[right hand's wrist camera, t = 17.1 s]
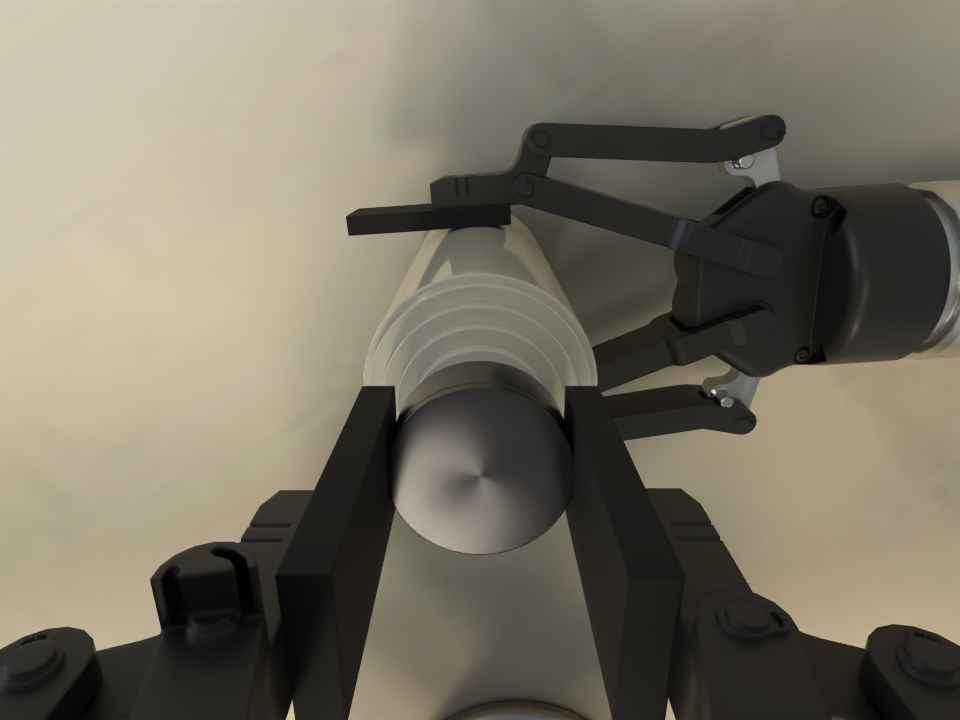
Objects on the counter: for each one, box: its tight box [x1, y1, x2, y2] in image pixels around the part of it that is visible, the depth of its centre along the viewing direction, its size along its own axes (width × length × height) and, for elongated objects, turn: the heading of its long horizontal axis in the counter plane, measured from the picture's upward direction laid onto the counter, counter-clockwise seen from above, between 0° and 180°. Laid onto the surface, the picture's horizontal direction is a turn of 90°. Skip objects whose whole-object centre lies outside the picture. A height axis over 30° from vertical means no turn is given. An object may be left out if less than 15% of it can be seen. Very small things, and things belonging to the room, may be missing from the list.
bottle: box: [363, 214, 598, 419], centre depth 23 cm, size 7×7×20 cm
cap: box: [387, 361, 574, 555], centre depth 14 cm, size 4×4×2 cm
